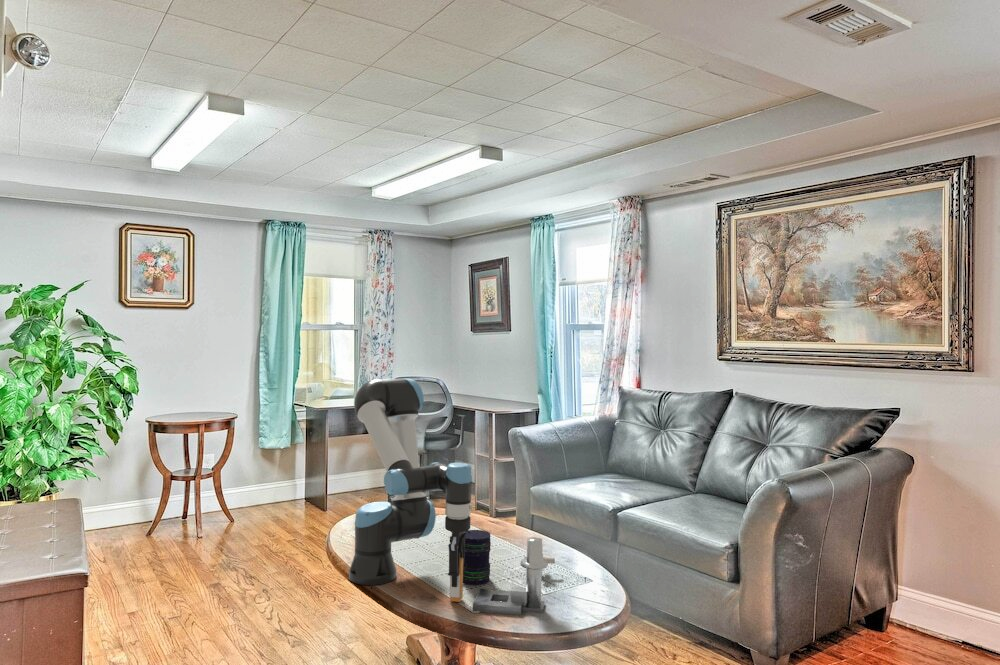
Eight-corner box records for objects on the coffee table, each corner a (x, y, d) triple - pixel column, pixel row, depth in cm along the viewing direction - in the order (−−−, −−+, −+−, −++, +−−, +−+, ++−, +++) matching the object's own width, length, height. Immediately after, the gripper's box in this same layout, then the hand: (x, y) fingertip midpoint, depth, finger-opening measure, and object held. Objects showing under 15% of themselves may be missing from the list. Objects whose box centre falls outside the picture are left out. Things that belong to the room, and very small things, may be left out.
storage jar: (496, 580, 226) (497, 534, 226) (475, 588, 219) (476, 540, 218) (474, 572, 233) (475, 527, 232) (453, 580, 225) (453, 534, 225)
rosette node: (472, 611, 201) (473, 542, 201) (480, 595, 213) (481, 530, 213) (545, 617, 198) (546, 546, 198) (548, 600, 210) (550, 534, 210)
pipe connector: (554, 570, 236) (555, 541, 236) (554, 581, 226) (554, 550, 226) (525, 569, 237) (525, 539, 237) (523, 579, 227) (523, 549, 227)
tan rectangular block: (449, 600, 207) (450, 560, 207) (452, 596, 210) (452, 557, 210) (460, 601, 207) (461, 561, 206) (462, 597, 210) (463, 558, 209)
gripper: (464, 524, 199) (462, 606, 200) (475, 509, 215) (473, 584, 216) (439, 522, 200) (437, 603, 201) (451, 507, 216) (450, 582, 217)
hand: (456, 593), depth 208 cm, fingers closed on tan rectangular block, 3 cm apart
